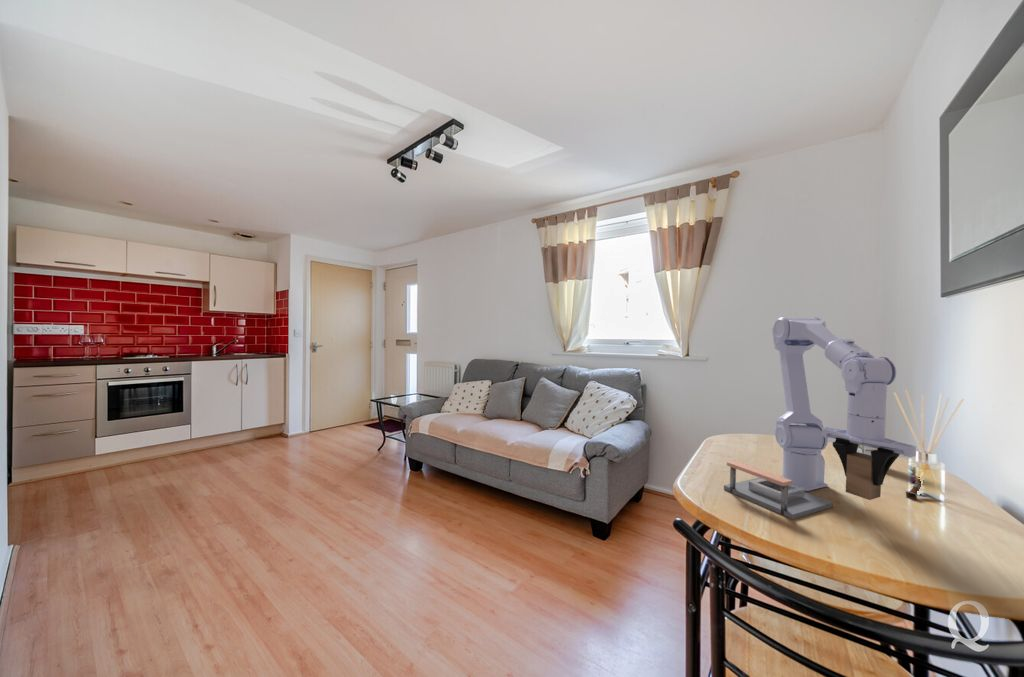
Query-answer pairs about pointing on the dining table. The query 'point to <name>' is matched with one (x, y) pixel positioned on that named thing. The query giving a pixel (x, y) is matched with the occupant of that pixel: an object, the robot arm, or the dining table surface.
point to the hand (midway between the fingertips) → (863, 480)
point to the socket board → (774, 492)
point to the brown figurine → (914, 490)
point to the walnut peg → (861, 476)
